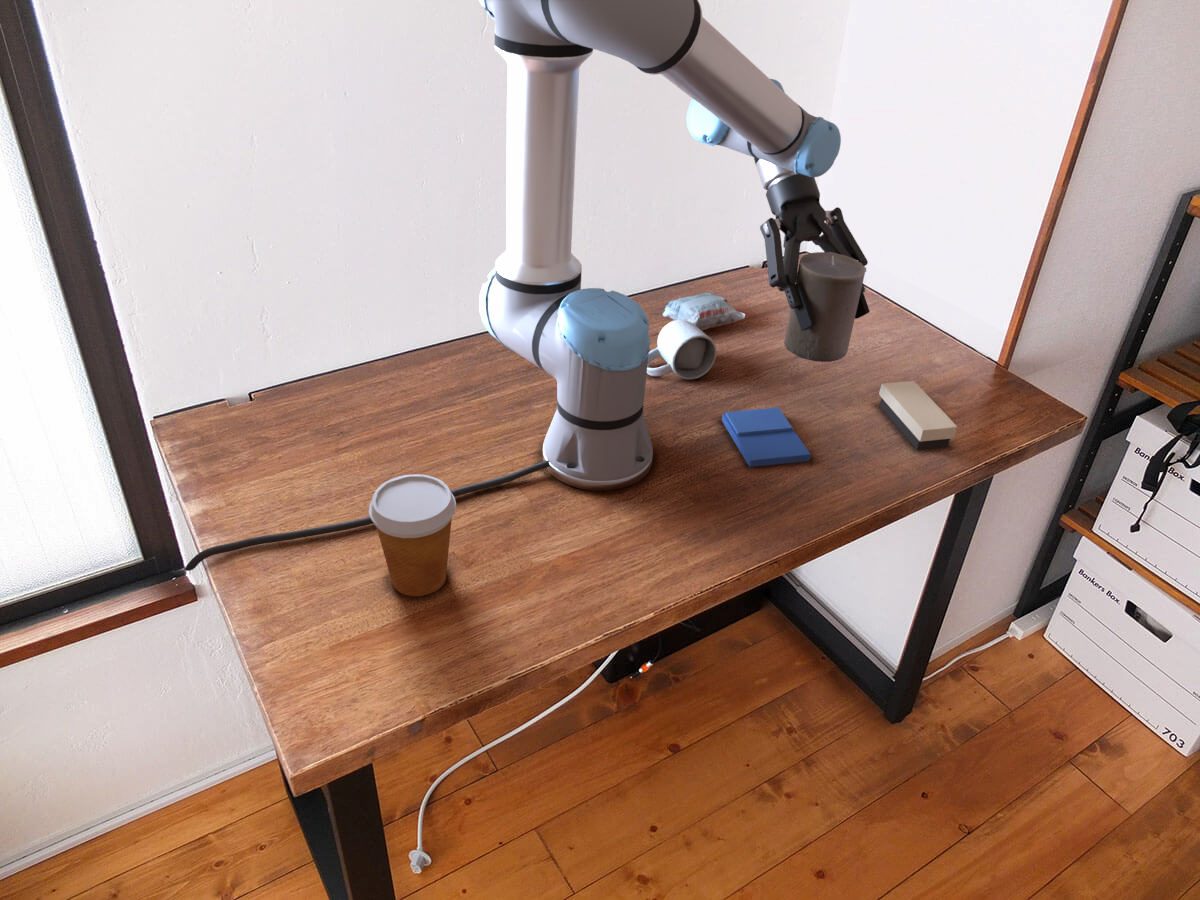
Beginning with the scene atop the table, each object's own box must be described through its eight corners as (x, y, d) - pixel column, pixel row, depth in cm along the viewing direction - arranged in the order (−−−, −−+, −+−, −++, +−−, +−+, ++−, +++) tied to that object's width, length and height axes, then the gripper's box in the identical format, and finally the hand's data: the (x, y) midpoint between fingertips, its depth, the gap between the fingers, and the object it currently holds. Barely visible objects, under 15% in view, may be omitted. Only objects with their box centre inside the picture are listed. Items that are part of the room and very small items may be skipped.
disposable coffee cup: (463, 551, 116) (459, 472, 109) (456, 607, 108) (451, 525, 101) (384, 550, 115) (375, 470, 109) (371, 606, 108) (360, 524, 101)
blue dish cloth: (749, 467, 133) (751, 457, 132) (721, 420, 142) (723, 410, 141) (809, 461, 135) (811, 451, 134) (778, 415, 144) (779, 405, 143)
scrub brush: (916, 452, 138) (923, 430, 136) (876, 404, 148) (881, 383, 146) (951, 448, 139) (957, 426, 137) (908, 401, 149) (914, 380, 147)
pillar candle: (788, 360, 143) (806, 267, 135) (780, 330, 151) (796, 240, 143) (853, 364, 143) (875, 272, 135) (841, 334, 151) (861, 245, 143)
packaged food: (743, 329, 167) (746, 303, 164) (686, 342, 162) (688, 316, 159) (714, 309, 173) (717, 284, 170) (659, 321, 168) (661, 296, 165)
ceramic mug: (692, 352, 159) (696, 310, 155) (714, 376, 153) (719, 333, 148) (634, 362, 156) (636, 320, 151) (654, 387, 150) (657, 344, 145)
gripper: (831, 185, 152) (877, 317, 149) (715, 202, 143) (762, 343, 140) (860, 162, 145) (908, 300, 143) (740, 179, 136) (789, 326, 134)
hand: (835, 321), depth 142 cm, fingers closed on pillar candle, 9 cm apart
